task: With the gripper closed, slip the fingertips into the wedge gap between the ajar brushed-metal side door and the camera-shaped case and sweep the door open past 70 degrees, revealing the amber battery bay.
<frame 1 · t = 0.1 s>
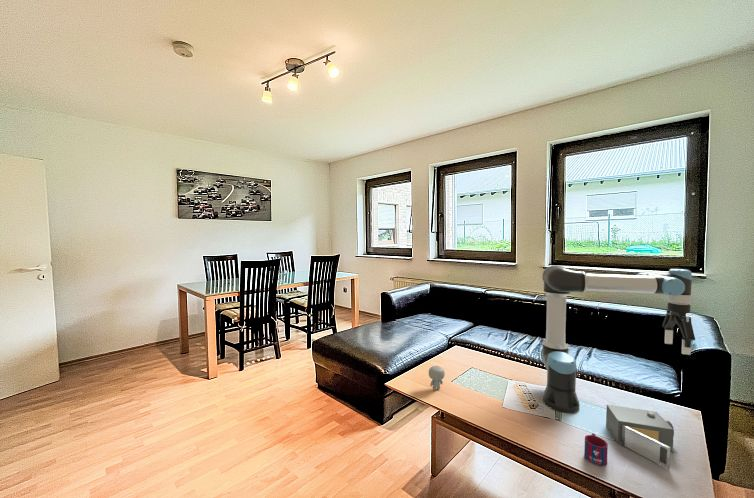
hand: (676, 348, 142), 28 cm above the table, fingers open, 13 cm apart
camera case: (637, 438, 123), on the table
mug: (595, 456, 113), on the table
side door: (644, 445, 112), point 4 cm above the table, hinge at 45.0°
figurine: (436, 390, 161), on the table
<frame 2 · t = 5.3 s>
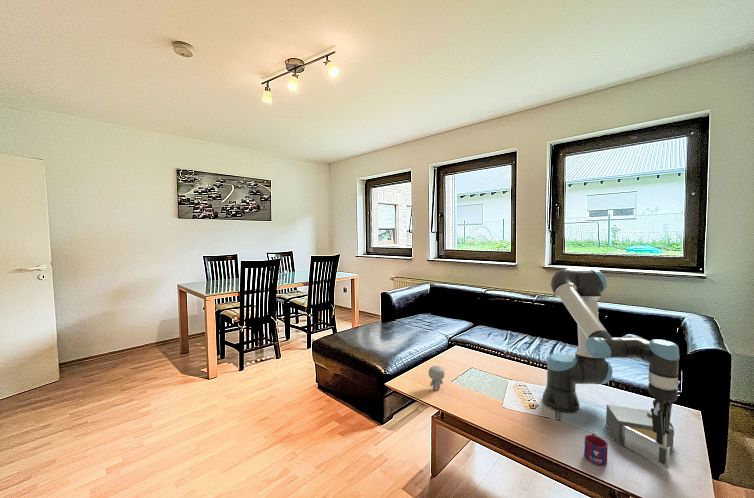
hand: (660, 450, 109), 5 cm above the table, fingers closed
side door: (643, 446, 112), point 4 cm above the table, hinge at 47.5°, touching gripper
everything else where it was.
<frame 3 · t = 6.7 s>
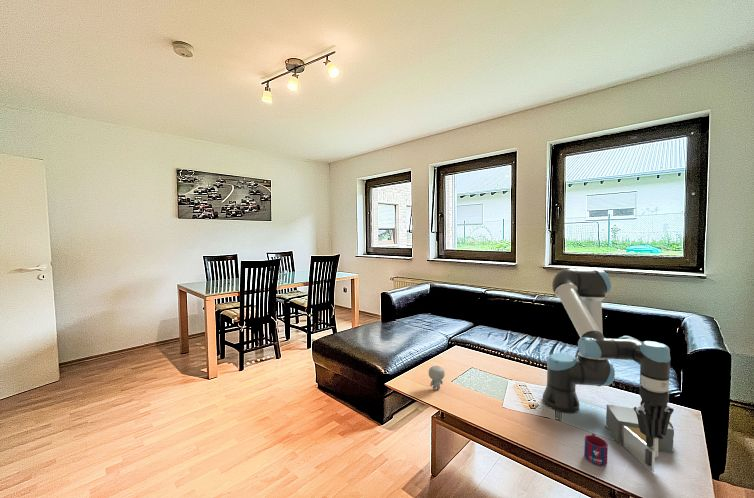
hand: (652, 454, 107), 4 cm above the table, fingers closed
side door: (636, 446, 111), point 4 cm above the table, hinge at 74.3°, touching gripper
everything else where it was.
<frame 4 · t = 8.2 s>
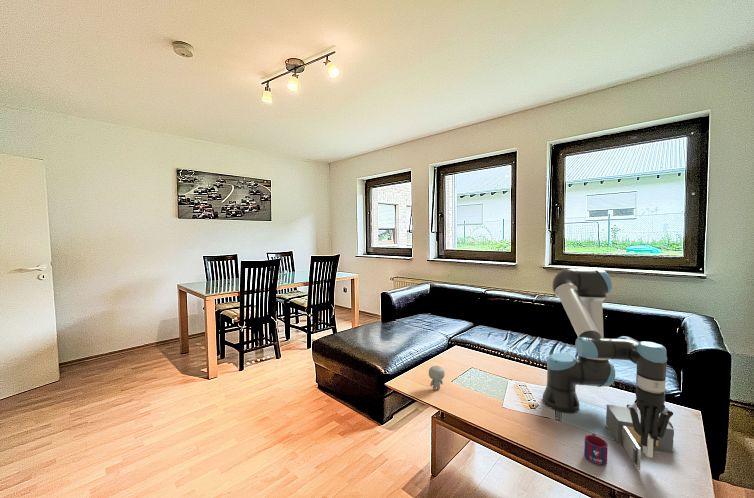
hand: (647, 454, 107), 4 cm above the table, fingers closed
side door: (630, 446, 112), point 4 cm above the table, hinge at 92.2°
everything else where it was.
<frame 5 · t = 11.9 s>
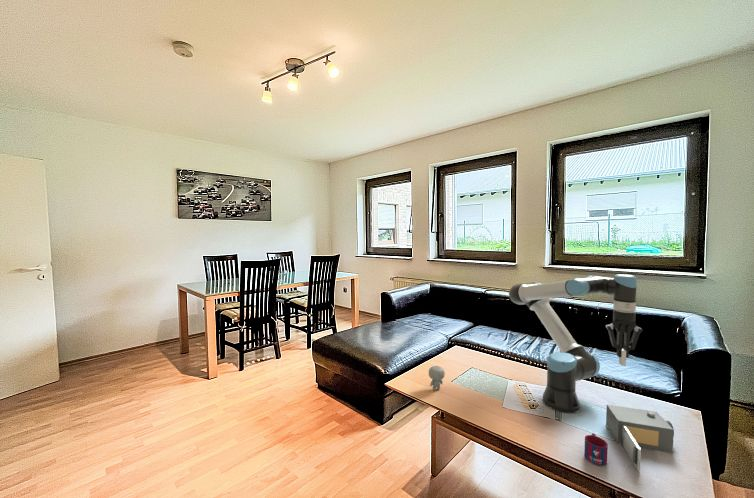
hand: (622, 364, 134), 24 cm above the table, fingers closed
nothing on the table moved.
at the end: side door at +92° (first picture: +45°) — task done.
